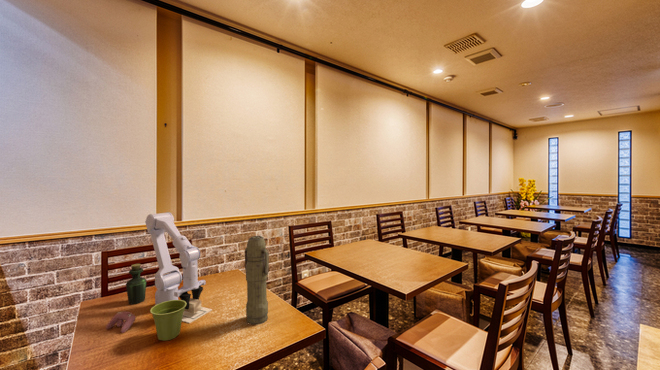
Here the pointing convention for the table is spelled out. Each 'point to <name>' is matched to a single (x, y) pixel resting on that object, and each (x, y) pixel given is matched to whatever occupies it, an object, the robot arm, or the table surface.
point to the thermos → (256, 280)
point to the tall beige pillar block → (194, 306)
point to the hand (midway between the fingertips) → (191, 306)
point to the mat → (194, 315)
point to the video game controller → (122, 320)
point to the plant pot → (168, 318)
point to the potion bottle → (136, 286)
